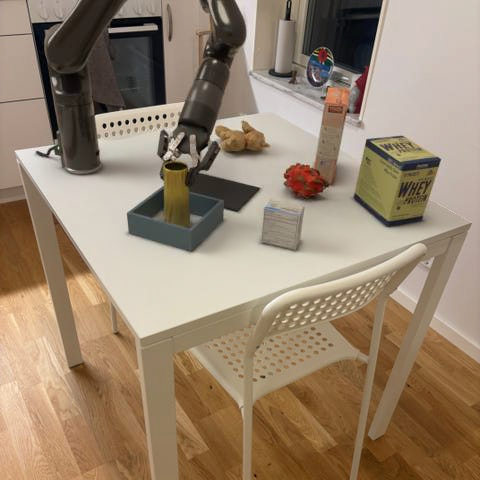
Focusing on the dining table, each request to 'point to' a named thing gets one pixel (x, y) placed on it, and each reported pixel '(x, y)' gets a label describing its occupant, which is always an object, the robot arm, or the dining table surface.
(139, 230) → the tub
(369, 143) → the protein box
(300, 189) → the dragon fruit
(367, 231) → the dining table surface
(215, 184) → the mat
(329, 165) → the cracker box
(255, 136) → the ginger root
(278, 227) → the medicine box
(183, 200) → the vase
